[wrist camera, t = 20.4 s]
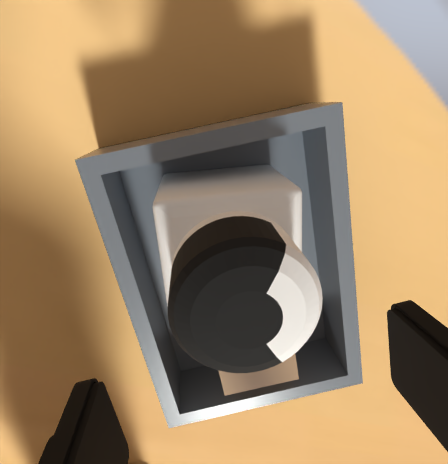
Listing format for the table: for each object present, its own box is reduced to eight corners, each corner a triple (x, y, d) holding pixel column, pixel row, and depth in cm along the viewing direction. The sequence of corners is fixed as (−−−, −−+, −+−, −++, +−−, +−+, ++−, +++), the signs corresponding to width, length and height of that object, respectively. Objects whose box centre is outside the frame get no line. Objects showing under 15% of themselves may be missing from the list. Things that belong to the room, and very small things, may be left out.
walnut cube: (271, 277, 26) (289, 315, 21) (280, 332, 28) (298, 378, 23) (205, 292, 26) (209, 333, 21) (218, 346, 28) (224, 395, 23)
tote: (334, 338, 29) (362, 383, 25) (172, 376, 29) (168, 428, 24) (310, 102, 23) (342, 102, 18) (98, 148, 22) (74, 160, 18)
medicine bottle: (175, 271, 25) (164, 408, 14) (161, 172, 23) (135, 240, 11) (273, 261, 25) (340, 384, 14) (270, 163, 23) (349, 218, 12)
